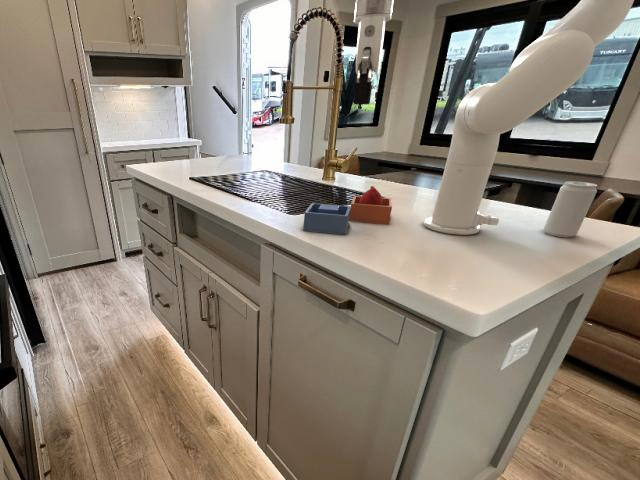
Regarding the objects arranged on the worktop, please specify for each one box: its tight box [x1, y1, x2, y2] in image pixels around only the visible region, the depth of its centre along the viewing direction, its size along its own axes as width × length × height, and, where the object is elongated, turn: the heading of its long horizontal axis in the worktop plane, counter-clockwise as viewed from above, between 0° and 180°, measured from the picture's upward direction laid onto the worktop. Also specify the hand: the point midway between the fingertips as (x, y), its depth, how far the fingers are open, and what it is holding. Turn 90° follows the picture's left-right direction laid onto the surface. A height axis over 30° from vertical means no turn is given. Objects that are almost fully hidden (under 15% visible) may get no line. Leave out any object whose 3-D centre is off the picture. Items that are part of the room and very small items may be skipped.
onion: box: [360, 185, 383, 206], centre depth 98 cm, size 6×6×8 cm
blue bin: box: [302, 202, 351, 236], centre depth 91 cm, size 10×10×5 cm
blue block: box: [318, 204, 339, 215], centre depth 91 cm, size 4×4×4 cm
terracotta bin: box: [349, 195, 393, 225], centre depth 99 cm, size 10×10×5 cm
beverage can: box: [543, 180, 598, 238], centre depth 84 cm, size 6×6×12 cm
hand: (361, 104), depth 84 cm, fingers open, 9 cm apart
